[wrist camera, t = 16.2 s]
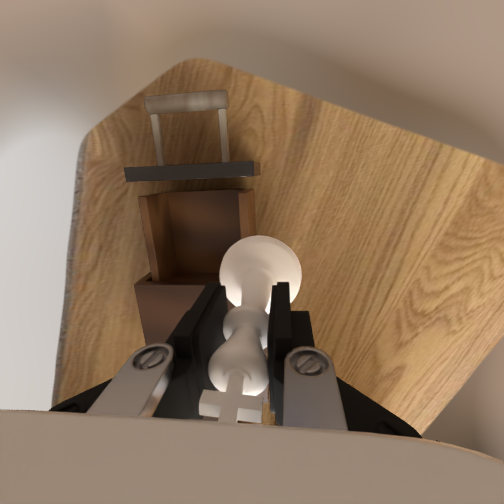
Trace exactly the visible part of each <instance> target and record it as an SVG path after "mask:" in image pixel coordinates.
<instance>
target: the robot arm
mask: <svg viewBox="0 0 504 504" xmlns="http://www.w3.org/2000/svg"><path fill="white" fill-rule="evenodd" d="M227 313H228V306H227V296H226V287H225V285H221V283H220V282H208V283H207V284H206V286H205V287H204V289H203V290H202V292H201V294H200V295H199V297H198V298H197V300H196V301H195V303H194V304H193V306H192V307H191V309H190V310H187V311H186V312H185V314H184V315H183V317H182V318H181V320H180V321H179V323H178V324H177V326H176V327H175V329H174V330H173V332H172V333H171V334H170V336H169V337H168V339H167V340H166V342H165V343H153V344H149V345H146V346H144V347H142V348H140V349H138V350H137V351H135V352H134V353H133V354H132V355H131V356H130V358H129V359H128V360H127V361H126V363H125V364H124V365H123V366H122V368H121V369H120V370H119V372H118V373H117V374H116V375H115V377H114V378H112V379H110V380H108V381H106V382H104V383H102V384H99V385H97V386H95V387H93V388H91V389H89V390H87V391H85V392H82V393H80V394H78V395H76V396H74V397H72V398H70V399H68V400H65V401H63V402H61V403H60V404H58V405H56V406H54V407H53V408H51V409H50V410H49V411H35V410H0V504H504V461H502V460H499V459H496V458H493V457H491V456H488V455H486V454H483V453H480V452H477V451H473V450H470V449H466V448H462V447H458V446H455V445H451V444H447V443H442V442H439V441H437V440H436V441H431V440H427V439H423V438H422V437H421V435H420V434H419V433H418V432H417V431H416V430H415V429H414V428H413V427H411V426H410V425H409V424H408V423H406V422H405V421H403V420H402V419H400V418H399V417H397V416H396V415H394V414H393V413H391V412H390V411H388V410H387V409H385V408H384V407H382V406H381V405H379V404H378V403H376V402H374V401H373V400H371V399H370V398H368V397H367V396H365V395H364V394H362V393H361V392H359V391H358V390H356V389H355V388H353V387H352V386H350V385H349V384H347V383H346V382H344V381H343V380H341V379H340V378H338V377H336V374H335V369H334V365H333V362H332V359H331V357H330V356H329V355H328V354H327V353H326V352H324V351H322V350H321V349H318V348H315V345H314V339H313V333H312V327H311V321H310V315H309V311H291V308H290V285H289V282H277V285H272V292H271V302H270V312H269V321H268V331H267V353H268V372H269V391H270V410H271V413H275V415H276V422H277V424H279V425H280V426H274V425H260V424H246V423H232V422H217V421H202V419H203V416H204V415H199V401H200V398H201V395H202V392H203V390H212V391H216V389H217V388H216V387H215V386H214V385H213V383H212V382H211V380H210V378H209V374H208V364H209V361H210V358H211V357H212V355H213V354H214V352H215V351H216V350H217V349H218V348H219V347H220V346H221V345H222V344H224V343H225V342H226V339H225V337H224V334H223V320H224V317H225V316H226V314H227ZM189 419H201V420H189Z"/></svg>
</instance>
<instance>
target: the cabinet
mask: <svg viewBox="0 0 504 504" xmlns="http://www.w3.org/2000/svg"><path fill="white" fill-rule="evenodd" d="M207 283H208V282H155V281H152V275H151V272H150V273H148V274H147V275H146V276H144V277H143V278H142V279H141V280H139V281H138V282H137V283H135V284H134V287H135V292H136V297H137V302H138V307H139V313H140V318H141V323H142V328H143V333H144V338H145V343H146V345H149V344H153V343H165V342H166V340H167V339H168V337H169V336H170V334H171V333H172V332H173V330H174V329H175V327H176V326H177V324H178V323H179V321H180V320H181V318H182V317H183V315H184V314H185V312H186V311H187V310H190V309H191V307H192V306H193V304H194V303H195V301H196V300H197V298H198V297H199V295H200V294H201V292H202V290H203V289H204V287H205V286H206V284H207ZM227 306H228V312H229V311H230V310H231V309H233V308H235V307H236V306H235V305H234V304H232V303H231V302H230V301H229V299H228V298H227ZM263 351H264V353H265V355H266V357H267V360H268V353H267V347H266V348H265V349H263ZM216 391H219V390H218V389H216ZM257 396H260V397H263V403H268V400H269V383H268V385H267V387H266V388H265V390H264V391H263V392H261V393H260V394H258V395H257Z"/></svg>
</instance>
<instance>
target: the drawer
mask: <svg viewBox="0 0 504 504" xmlns="http://www.w3.org/2000/svg"><path fill="white" fill-rule="evenodd" d="M144 105H145V109H146V111H147V113H148V114H149V115H150V116H151V123H152V130H153V137H154V144H155V151H156V157H157V164H158V166H147V167H128V168H124V172H125V177H126V182H137V181H160V180H182V179H204V178H227V177H249V176H258V175H261V174H260V163H258V162H255V161H243V162H230V159H229V144H228V128H227V113H226V109H228V108H229V97H228V92H227V90H226V89H224V90H213V91H202V92H190V93H179V94H168V95H157V96H146V97H145V98H144ZM208 110H218V116H219V129H220V143H221V156H222V163H205V164H185V165H166V161H165V153H164V146H163V139H162V131H161V124H160V117H159V115H158V114H170V113H182V112H195V111H208ZM138 200H139V206H140V212H141V217H142V223H143V229H144V235H145V240H146V246H147V252H148V258H149V263H150V269H151V275H152V281H155V282H220V277H219V274H220V267H221V263H222V260H223V257H224V255H225V254H226V252H227V251H228V249H229V248H230V247H231V246H232V245H233V244H235V243H236V242H238V241H239V240H241V239H244V238H246V237H250V236H256V224H255V200H254V188H251V189H225V190H199V191H173V192H160V193H155V194H149V195H144V196H139V197H138Z"/></svg>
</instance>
